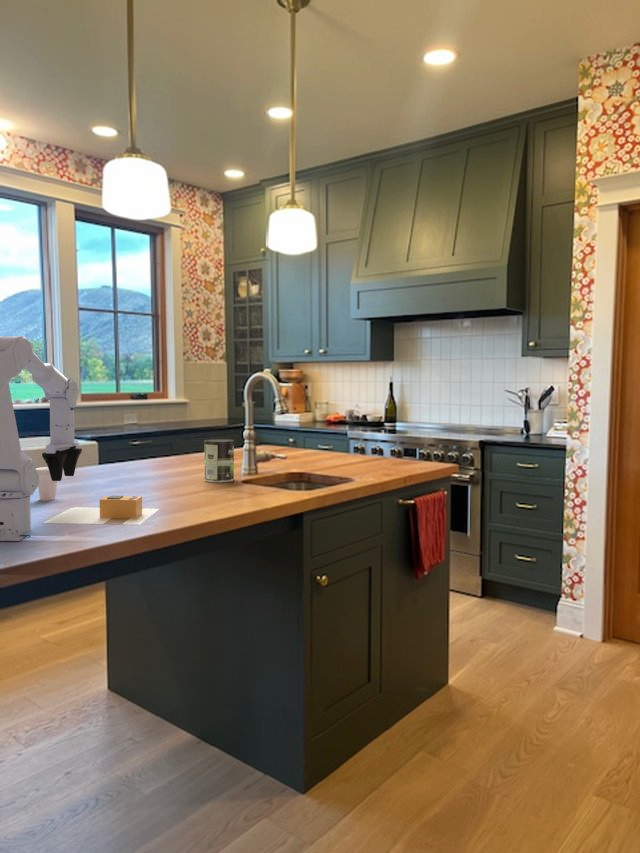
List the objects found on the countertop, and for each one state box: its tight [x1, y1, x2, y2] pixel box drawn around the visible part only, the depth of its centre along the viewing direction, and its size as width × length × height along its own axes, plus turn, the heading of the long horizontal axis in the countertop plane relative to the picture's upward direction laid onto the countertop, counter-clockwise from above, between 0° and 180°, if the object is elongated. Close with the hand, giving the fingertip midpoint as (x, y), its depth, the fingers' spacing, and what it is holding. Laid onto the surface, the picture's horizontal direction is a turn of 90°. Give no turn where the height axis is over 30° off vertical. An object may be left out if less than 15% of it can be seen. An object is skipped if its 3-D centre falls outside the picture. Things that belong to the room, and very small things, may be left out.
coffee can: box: [203, 438, 235, 484], centre depth 218 cm, size 10×10×14 cm
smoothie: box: [35, 465, 58, 502], centre depth 175 cm, size 6×6×14 cm
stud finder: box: [99, 495, 143, 518], centre depth 157 cm, size 5×9×5 cm, turn 90°
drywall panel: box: [42, 506, 160, 526], centre depth 157 cm, size 18×23×1 cm
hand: (63, 478), depth 161 cm, fingers open, 7 cm apart
